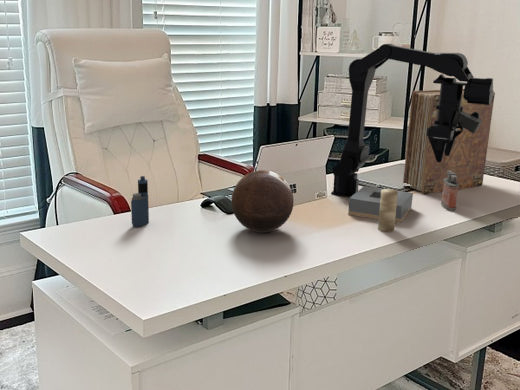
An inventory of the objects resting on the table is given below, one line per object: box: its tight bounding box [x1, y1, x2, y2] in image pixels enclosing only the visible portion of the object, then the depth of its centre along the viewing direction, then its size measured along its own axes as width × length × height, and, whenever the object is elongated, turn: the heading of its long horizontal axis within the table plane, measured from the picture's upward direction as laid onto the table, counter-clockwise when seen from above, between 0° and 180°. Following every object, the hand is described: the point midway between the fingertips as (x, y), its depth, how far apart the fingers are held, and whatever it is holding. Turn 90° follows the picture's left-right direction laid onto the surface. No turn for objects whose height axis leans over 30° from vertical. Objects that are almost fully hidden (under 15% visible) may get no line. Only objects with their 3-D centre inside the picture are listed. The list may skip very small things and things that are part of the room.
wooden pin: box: [377, 188, 399, 233], centre depth 153 cm, size 4×4×10 cm
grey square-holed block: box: [347, 185, 414, 224], centre depth 168 cm, size 14×14×4 cm
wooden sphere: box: [231, 169, 295, 233], centre depth 149 cm, size 15×15×15 cm
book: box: [402, 88, 496, 195], centre depth 191 cm, size 25×9×30 cm, turn 118°
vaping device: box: [130, 175, 150, 228], centre depth 151 cm, size 3×5×12 cm, turn 155°
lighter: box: [440, 171, 459, 212], centre depth 173 cm, size 8×3×10 cm, turn 179°
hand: (443, 158), depth 168 cm, fingers open, 9 cm apart
